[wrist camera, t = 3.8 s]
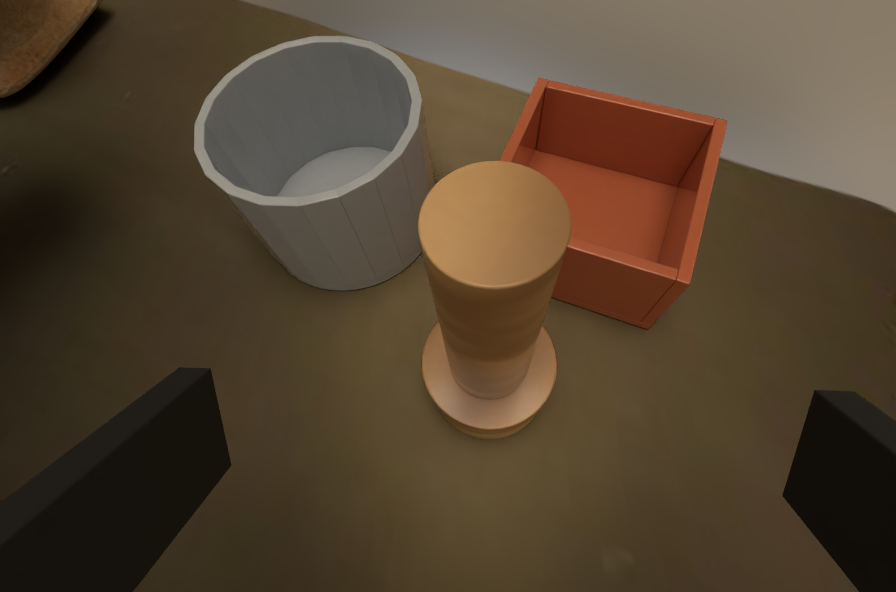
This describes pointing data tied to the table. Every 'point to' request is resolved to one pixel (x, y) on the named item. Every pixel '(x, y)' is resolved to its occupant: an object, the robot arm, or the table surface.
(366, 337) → the table surface
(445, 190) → the wooden peg
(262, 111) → the gray round bin
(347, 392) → the table surface
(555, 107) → the red square box
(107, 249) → the table surface
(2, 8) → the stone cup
